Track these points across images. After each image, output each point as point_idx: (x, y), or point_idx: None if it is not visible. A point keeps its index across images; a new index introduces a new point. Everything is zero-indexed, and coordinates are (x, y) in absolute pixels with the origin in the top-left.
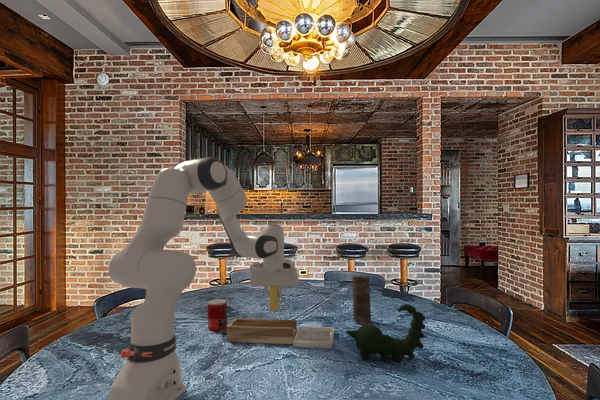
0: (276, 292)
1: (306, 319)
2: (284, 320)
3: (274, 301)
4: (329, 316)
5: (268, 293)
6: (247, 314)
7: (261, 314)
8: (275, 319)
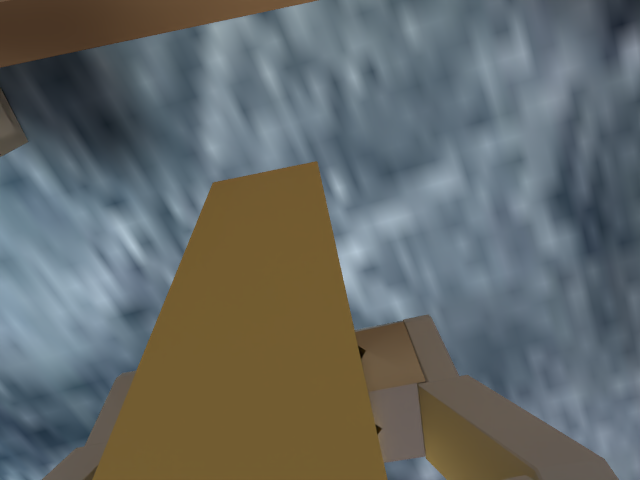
0: (140, 391)
1: None
2: (31, 15)
3: (236, 242)
4: (14, 466)
5: (412, 368)
6: (596, 354)
7: (493, 380)
8: (178, 24)
